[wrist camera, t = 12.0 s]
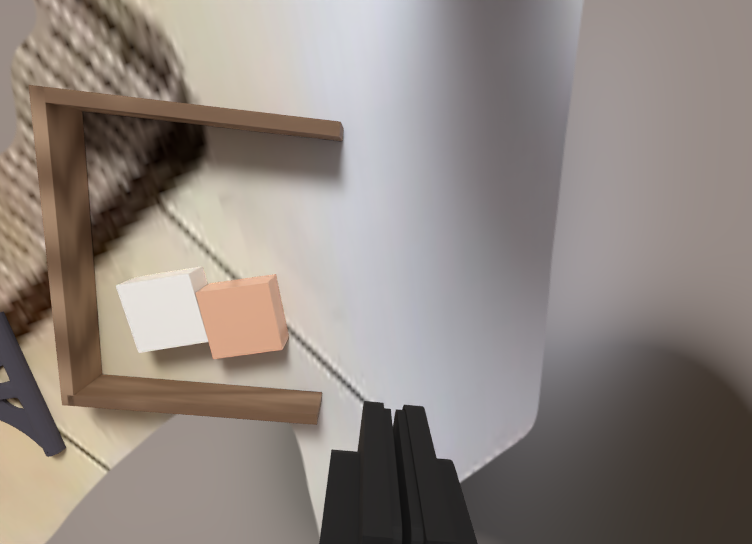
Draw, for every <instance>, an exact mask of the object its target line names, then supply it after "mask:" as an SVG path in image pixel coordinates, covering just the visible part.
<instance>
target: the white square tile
mask: <svg viewBox="0 0 752 544" xmlns="http://www.w3.org/2000/svg"><path fill="white" fill-rule="evenodd" d="M206 285H208V282H207V279H206V275H205V272H204V268H203V266H201V267H194V268H188V269H182V270H176V271H169V272H163V273H157V274H151V275H144V276H138V277H134V278H132V279H130V280H127V281H125V282H123V283H120V284H118V285H116V288H117V291H118V294H119V297H120V300H121V303H122V306H123V309H124V311H125V314H126V317H127V320H128V323H129V326H130V329H131V332H132V335H133V338H134V341H135V344H136V347H137V349H138V352H139V353H141V352H147V351H154V350H160V349H166V348H173V347H179V346H185V345H192V344H198V343H204V342H208V338H207V334H206V331H205V327H204V323H203V319H202V316H201V312H200V308H199V305H198V301H197V297H196V292H197V291H199V290H200V289H202V288H203V287H205V286H206Z"/></svg>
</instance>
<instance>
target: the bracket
mask: <svg viewBox="0 0 752 544" xmlns="http://www.w3.org/2000/svg"><path fill="white" fill-rule="evenodd" d="M2 365H3V366H4V368H5V370H6V372H7V375H8V377H9V380H10V381H8V382H4V383H0V420H1V421H3V422H6V423H8V424H10V425H12V426H13V427H15V428H17V429H19V430H20V431H22V432H23V433H25V434H26V435H27V436H29V437H30V438H31V439H32V440H34V441H35V442H36V443H37V444H38V445H39V446H41V447H42V448H43V450H44V452H45V454H46V456H47V457H49V456H53V455H55V454H58V453H59V452H61V451H63V450H64V449H65V448H66V446H65V444H64V442H63V439H62V437H61V435H60V433H59V431H58V429H57V426H56V424H55V422H54V420H53V418H52V416H51V413H50V411H49V409H48V407H47V405H46V403H45V400H44V398H43V396H42V394H41V392H40V390H39V387H38V385H37V383H36V381H35V379H34V377H33V374H32V372H31V370H30V368H29V366H28V364H27V361H26V359H25V357H24V355H23V353H22V351H21V348H20V346H19V344H18V342H17V340H16V338H15V335H14V333H13V331H12V329H11V327H10V325H9V322H8V320H7V318H6V316H5V314H4V312H0V367H1V366H2ZM9 398H18V399H19V401H20V402H21V404H22V406H23V408H24V409H23V408H18V407H16V406H14V405H12V404H10V403H9V402H8V401H7V400H6V399H9Z"/></svg>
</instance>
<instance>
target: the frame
mask: <svg viewBox="0 0 752 544" xmlns="http://www.w3.org/2000/svg"><path fill="white" fill-rule="evenodd" d="M29 93H30V103H31V112H32V122H33V131H34V141H35V150H36V160H37V170H38V179H39V189H40V198H41V208H42V217H43V227H44V236H45V246H46V255H47V265H48V275H49V284H50V294H51V303H52V313H53V322H54V332H55V341H56V351H57V360H58V370H59V380H60V389H61V399H62V405H68V406H81V407H94V408H107V409H120V410H133V411H146V412H159V413H172V414H185V415H198V416H212V417H224V418H225V417H226V418H237V419H250V420H263V421H276V422H289V423H302V424H315V425H317V420H318V415H319V410H320V405H321V398H322V392H311V391H299V390H287V389H275V388H262V387H250V386H238V385H225V384H213V383H201V382H189V381H176V380H164V379H152V378H139V377H127V376H115V375H103V374H102V368H101V355H100V341H99V328H98V315H97V301H96V288H95V274H94V261H93V247H92V234H91V220H90V207H89V194H88V180H87V167H86V153H85V140H84V126H83V113H82V111H85V112H93V113H102V114H111V115H119V116H128V117H137V118H145V119H154V120H163V121H171V122H180V123H189V124H197V125H206V126H215V127H223V128H232V129H241V130H249V131H258V132H267V133H275V134H284V135H293V136H301V137H310V138H319V139H327V140H336V141H343V129H344V128H343V126H342V124H341V122H338V121H330V120H321V119H313V118H304V117H296V116H287V115H279V114H270V113H262V112H254V111H245V110H237V109H228V108H220V107H211V106H203V105H194V104H186V103H177V102H169V101H160V100H152V99H143V98H135V97H127V96H118V95H110V94H101V93H93V92H84V91H76V90H67V89H59V88H50V87H42V86H33V85H29Z"/></svg>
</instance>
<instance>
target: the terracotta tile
mask: <svg viewBox="0 0 752 544" xmlns="http://www.w3.org/2000/svg"><path fill="white" fill-rule="evenodd" d="M196 297H197V301H198V305H199V308H200V312H201V316H202V319H203V323H204V327H205V331H206V334H207V338H208V342H209V345H210V349H211V353H212V357H213V359H218V358H226V357H233V356H240V355H247V354H255V353H262V352H269V351H277V350H283V348H284V346H285V344H286V342H287V340H288V338H289V334H288V329H287V324H286V320H285V315H284V310H283V305H282V301H281V296H280V291H279V286H278V282H277V277H276V274H274V275H267V276H260V277H252V278H245V279H238V280H231V281H224V282H217V283H210V284H208V285H206V286H205V287H203V288H202V289H200V290H199V291H197V292H196Z"/></svg>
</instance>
